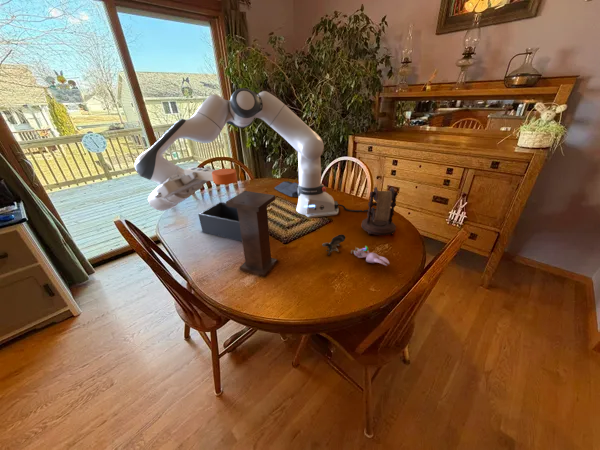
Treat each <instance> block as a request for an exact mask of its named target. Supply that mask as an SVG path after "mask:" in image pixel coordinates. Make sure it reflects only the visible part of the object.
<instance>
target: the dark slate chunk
mask: <svg viewBox="0 0 600 450" xmlns="http://www.w3.org/2000/svg"><path fill="white" fill-rule="evenodd" d="M298 184H299V182H298V183H297V182H292V181H289V180H288V181H282V182H280V183H279V184H277V185H276V186H275V187H274V190H276V191H277V192H280V193H281V194H284V195H286V196H287V197H295V198H297V197H299V195H298Z"/></svg>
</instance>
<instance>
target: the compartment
mask: <svg viewBox="0 0 600 450" xmlns="http://www.w3.org/2000/svg"><path fill="white" fill-rule="evenodd" d="M197 215H198V219H199V224H200V227H201V231H202V233H206V234H208V235H209V234H210V235H214V236H217V237H221V238H225V239H226V238H227V239H230V240H235V241H239V242H242V237H241V230H240V224H239V217H238V210H237V208H234V207H228V206H227V205H226V202H225V201H224V202H223V201H219V202H217V203H215V204H214V205H212V206H211V207H208V208H207V209H205V210H203V211H201V212H198V214H197Z"/></svg>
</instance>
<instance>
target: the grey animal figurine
mask: <svg viewBox="0 0 600 450" xmlns="http://www.w3.org/2000/svg"><path fill="white" fill-rule="evenodd" d="M346 238H347V237H346V235H345V234H343V233H342V234H338V235H336V236H334V237H333V238H332V239H331V241H330V242H323V243H322V244H321V246H322V247H324V248H327V249H326V250H325V251H326V252H328V254H327V255H328V256H330V255H331V254H332V253H333V252H334V251H336V252H337V253H339V252H340V251H339V249H338V247H340V244H341V243H344V242H345V240H346ZM337 246H338V247H337Z"/></svg>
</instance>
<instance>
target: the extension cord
mask: <svg viewBox="0 0 600 450" xmlns="http://www.w3.org/2000/svg"><path fill="white" fill-rule="evenodd" d="M205 168H206V167H204V168H202V167H198V166H197V167H196V166H191V167H187V168H183V169H184V173H185V175H186V176H187V175H189V174H190V173H193V172H196V174H197V176H198V177H197V178H195V179H200V180H206V181H208V182H212V183H213V184H215V185H217V186H218V185H219V186H225V185H231V184H234V183H236V182H237V181H238V177H237V170H236V169H234V168H219V169H214V168H213V169H212V168H211V169H205Z"/></svg>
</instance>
